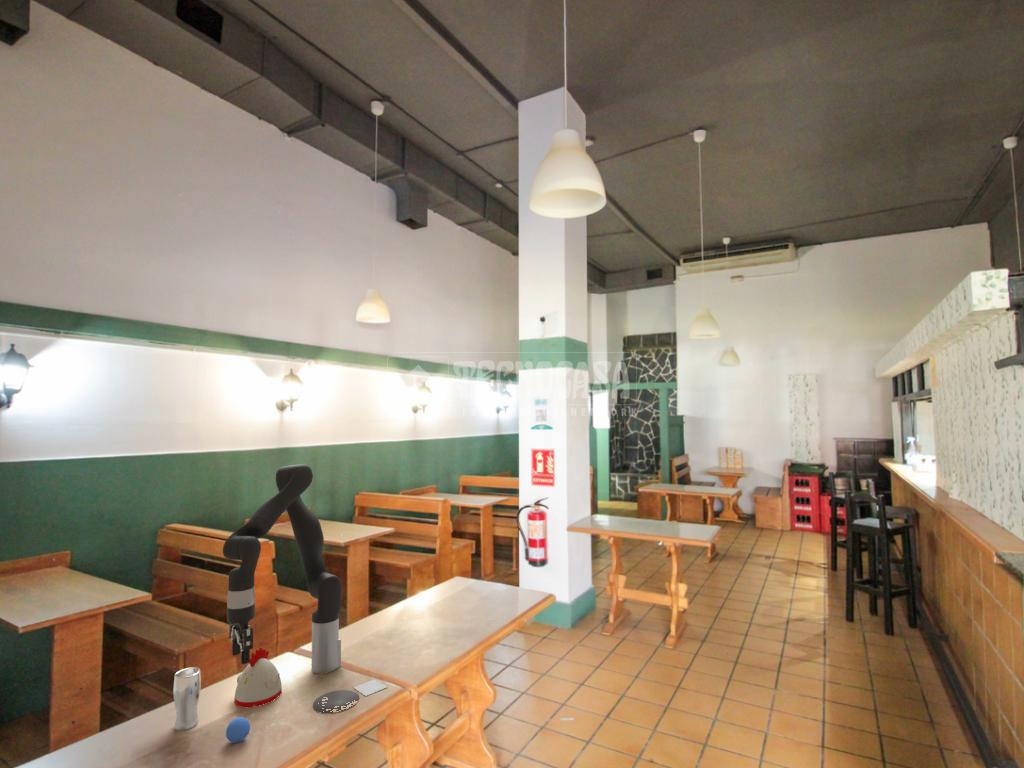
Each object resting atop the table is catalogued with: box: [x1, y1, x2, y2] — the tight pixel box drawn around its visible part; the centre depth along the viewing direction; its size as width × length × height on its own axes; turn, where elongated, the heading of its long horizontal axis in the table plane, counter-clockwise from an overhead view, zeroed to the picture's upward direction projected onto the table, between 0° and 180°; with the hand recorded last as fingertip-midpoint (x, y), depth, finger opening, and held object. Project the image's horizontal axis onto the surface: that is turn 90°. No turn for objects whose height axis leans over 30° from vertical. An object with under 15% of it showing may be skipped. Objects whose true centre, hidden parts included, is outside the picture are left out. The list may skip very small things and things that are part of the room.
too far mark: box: [353, 679, 388, 697], centre depth 178 cm, size 8×8×1 cm
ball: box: [225, 716, 251, 744], centre depth 149 cm, size 6×6×6 cm
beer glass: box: [172, 667, 202, 732], centre depth 158 cm, size 7×7×15 cm
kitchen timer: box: [234, 647, 283, 708], centre depth 174 cm, size 14×14×15 cm
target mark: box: [312, 689, 360, 714], centre depth 169 cm, size 14×14×1 cm
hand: (240, 658), depth 160 cm, fingers open, 8 cm apart
